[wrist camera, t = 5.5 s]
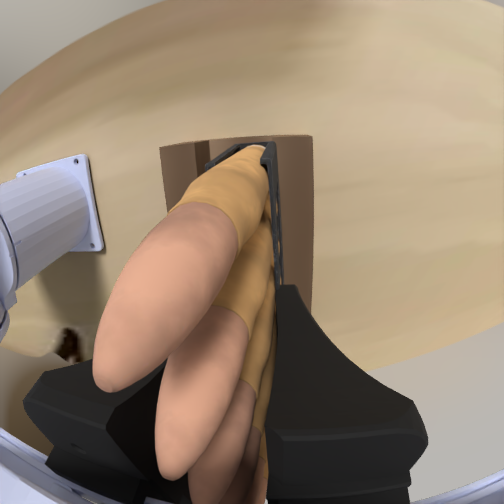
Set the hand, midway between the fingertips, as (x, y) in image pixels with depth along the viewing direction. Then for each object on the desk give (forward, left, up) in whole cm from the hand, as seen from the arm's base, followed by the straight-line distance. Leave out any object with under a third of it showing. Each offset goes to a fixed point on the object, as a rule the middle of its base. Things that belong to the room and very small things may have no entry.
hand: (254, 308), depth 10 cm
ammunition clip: (0, 0, -5) cm, 5 cm away
